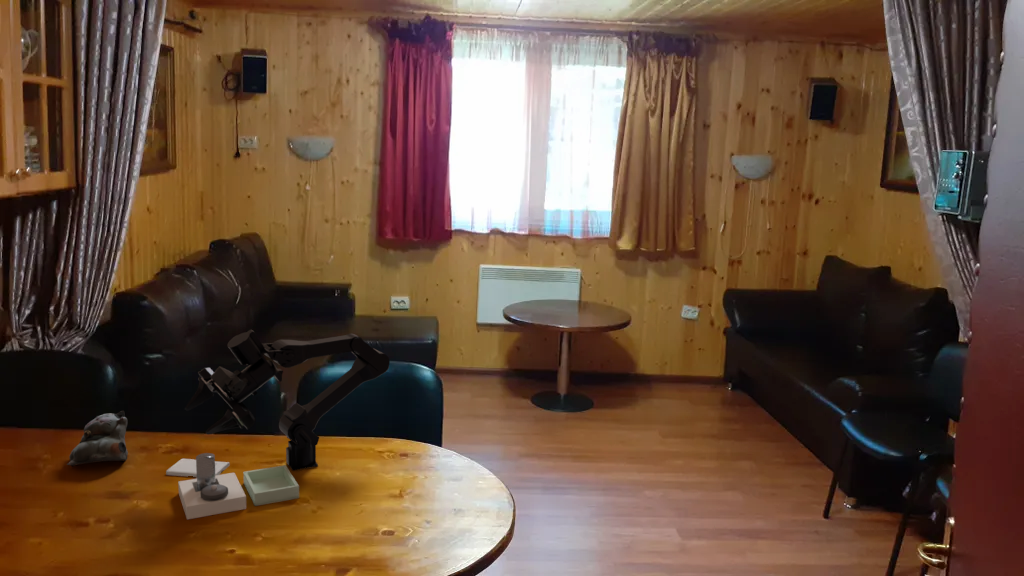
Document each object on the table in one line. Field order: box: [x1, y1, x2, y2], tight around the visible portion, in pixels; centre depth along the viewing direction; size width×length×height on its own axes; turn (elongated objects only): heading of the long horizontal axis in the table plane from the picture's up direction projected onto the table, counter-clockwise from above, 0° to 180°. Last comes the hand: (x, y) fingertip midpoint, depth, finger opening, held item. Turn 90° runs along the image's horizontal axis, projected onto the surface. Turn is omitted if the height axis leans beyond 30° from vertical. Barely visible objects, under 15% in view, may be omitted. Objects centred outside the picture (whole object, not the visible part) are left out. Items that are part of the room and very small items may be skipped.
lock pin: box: [195, 452, 216, 492], centre depth 186 cm, size 4×4×10 cm
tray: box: [242, 464, 300, 507], centre depth 191 cm, size 10×13×3 cm
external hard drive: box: [165, 458, 231, 478], centre depth 201 cm, size 2×8×12 cm
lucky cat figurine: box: [66, 410, 129, 467], centre depth 203 cm, size 15×12×14 cm
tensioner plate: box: [177, 472, 247, 520], centre depth 184 cm, size 12×14×5 cm
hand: (196, 421), depth 188 cm, fingers open, 9 cm apart
